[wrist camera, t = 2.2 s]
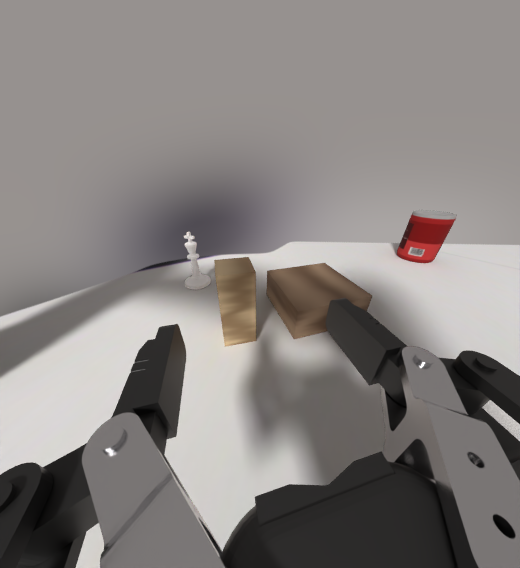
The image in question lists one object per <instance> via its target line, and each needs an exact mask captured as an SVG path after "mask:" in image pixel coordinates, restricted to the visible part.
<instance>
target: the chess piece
mask: <svg viewBox="0 0 520 568" xmlns="http://www.w3.org/2000/svg"><path fill="white" fill-rule="evenodd" d="M184 238H187V239H188V242H186V243H185V247H186V248H187V250H188V252H189V253H190V254H189V255H188V256H187V258H188V259H191V267H192V275H191V276H190V277H188V278H187V279H186V280H185V287H186V288H188V289H193V290H195V289H202V288H205V287H207V286H208V285H209V284H210V283H211V280H210V277H209V276H208V275H205V274H202V273H201V272H200V269H199V266H198V263H197V260H196V258H198V257H199V255H198V254H196V253H195V252H196V245H197V243H196V242H193V241H192V239H194V236H191V233H190V232H187V235H185V236H184Z"/></svg>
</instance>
